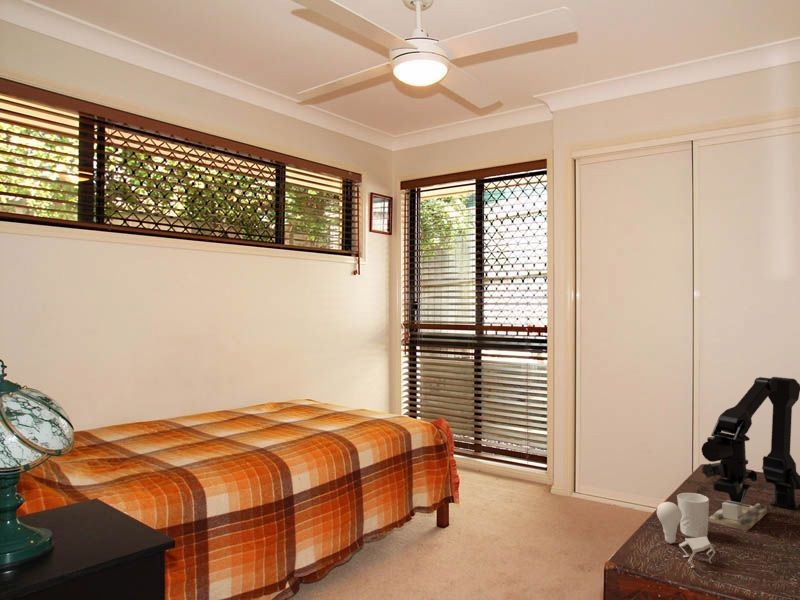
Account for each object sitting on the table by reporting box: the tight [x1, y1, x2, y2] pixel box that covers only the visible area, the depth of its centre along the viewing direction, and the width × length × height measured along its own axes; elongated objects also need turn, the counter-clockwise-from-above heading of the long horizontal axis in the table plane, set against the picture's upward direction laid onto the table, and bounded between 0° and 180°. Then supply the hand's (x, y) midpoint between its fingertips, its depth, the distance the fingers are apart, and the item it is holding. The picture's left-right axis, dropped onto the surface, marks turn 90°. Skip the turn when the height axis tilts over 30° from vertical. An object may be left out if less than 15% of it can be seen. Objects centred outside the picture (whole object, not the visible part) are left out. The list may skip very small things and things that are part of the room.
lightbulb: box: [656, 501, 682, 544], centre depth 153 cm, size 6×6×11 cm
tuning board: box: [708, 503, 768, 532], centre depth 169 cm, size 18×10×2 cm, turn 132°
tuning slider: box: [714, 498, 751, 520], centre depth 165 cm, size 4×9×4 cm, turn 42°
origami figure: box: [678, 535, 716, 569], centre depth 142 cm, size 12×8×5 cm
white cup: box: [676, 492, 710, 538], centre depth 159 cm, size 8×8×10 cm
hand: (736, 509), depth 168 cm, fingers closed
